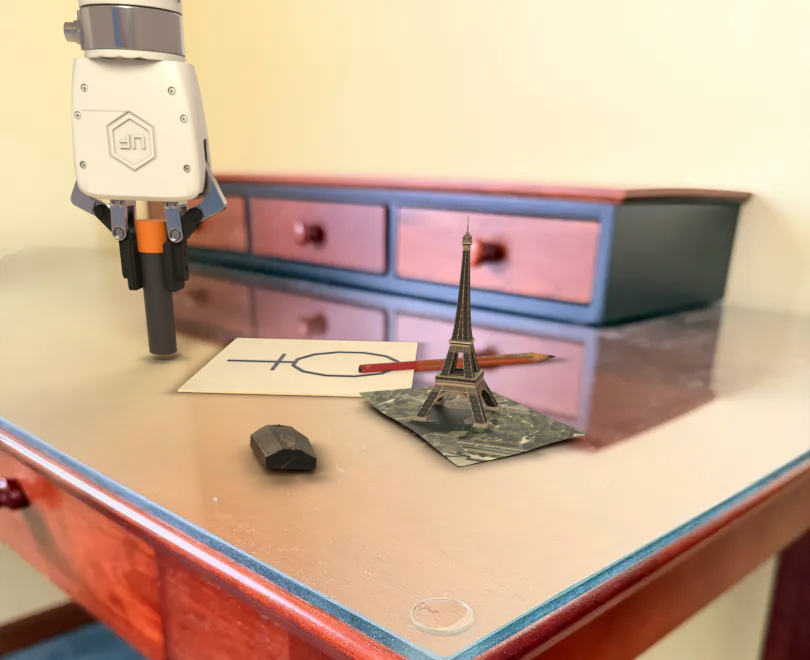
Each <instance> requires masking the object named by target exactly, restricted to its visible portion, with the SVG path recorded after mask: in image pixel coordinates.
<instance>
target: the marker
mask: <svg viewBox="0 0 810 660" xmlns="http://www.w3.org/2000/svg"><path fill="white" fill-rule="evenodd" d="M135 226H136V236H137V246H138V251H139V253H140V263H141V273H142V283H143V288H142V292H143V302H144V313H145V321H146V331H147V340H148V341H147V342H148V351H149V354H152V355H158V356H164V355H165V356H166V355H174V354H176V353H178V344H177V333H176V321H175V320H176V319H175V309H174V308H175V307H174V297H173V296H174V295H173V292H169V290H167V289H166V279H165V268H164V257H163V244H164V242H167V233H168V231H167V224H166V219H160V218H139V219H138V218H137V220H135Z"/></svg>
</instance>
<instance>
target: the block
mask: <svg viewBox="0 0 810 660" xmlns="http://www.w3.org/2000/svg"><path fill="white" fill-rule="evenodd" d="M249 439H250V440H249V447H250V448H251V450H252V451H253V453H254V454H255V455H256V457H257V458H258V460H259V461H260V463H261V464H262V465H263V467H264V468H265V469H284V470H286V469H288V470H309V471H311V470H312V471H313V470H314V471H315V470H316V468H317V461H318V458H317V455H316V453H315V451H314V449H313V446H312V444H311V442H310V440H309V437H307V435H304V434H303V433H301V432H300V431H299V430H297V429H296V428H294V427H293V426H292V425H285V424H280V423H278V424H265V425H264V426H262V427H259V428H258V429H256V430H255V431H254V432H253V433H251V434H250V438H249Z"/></svg>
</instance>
